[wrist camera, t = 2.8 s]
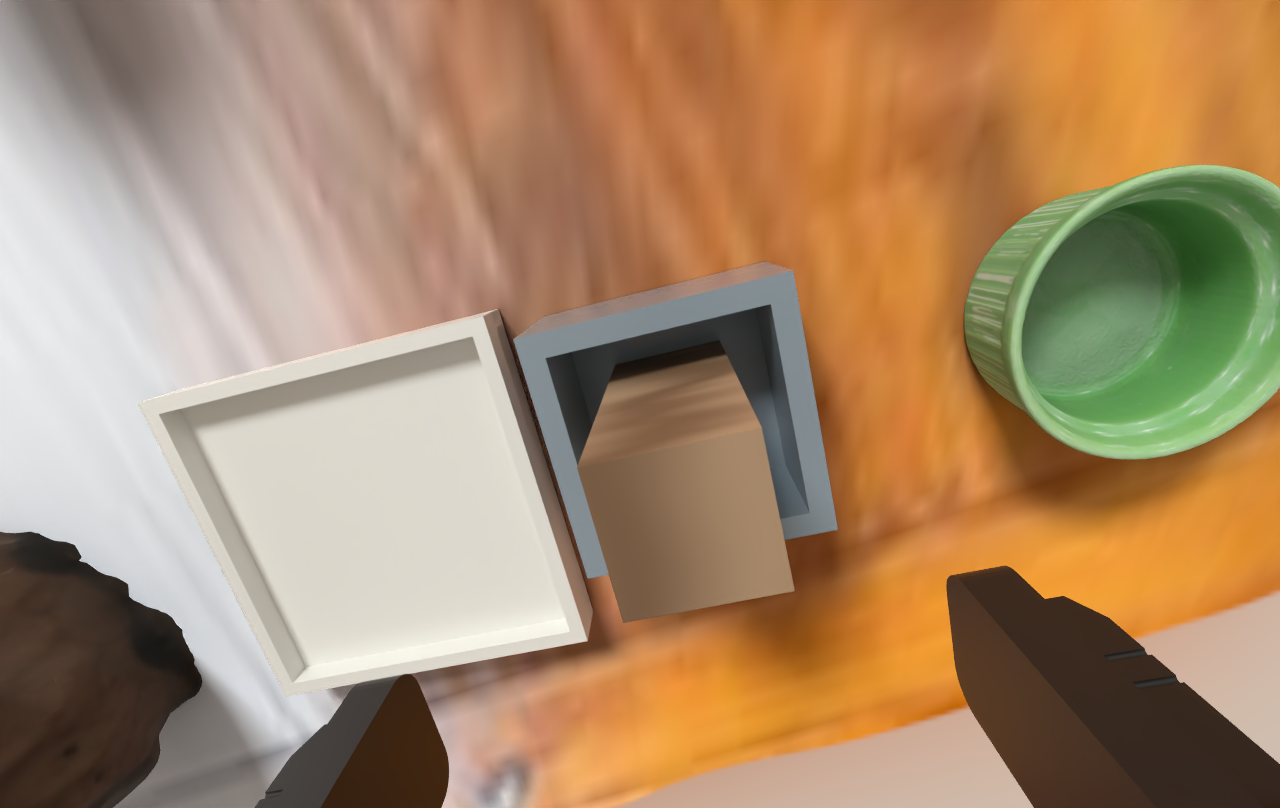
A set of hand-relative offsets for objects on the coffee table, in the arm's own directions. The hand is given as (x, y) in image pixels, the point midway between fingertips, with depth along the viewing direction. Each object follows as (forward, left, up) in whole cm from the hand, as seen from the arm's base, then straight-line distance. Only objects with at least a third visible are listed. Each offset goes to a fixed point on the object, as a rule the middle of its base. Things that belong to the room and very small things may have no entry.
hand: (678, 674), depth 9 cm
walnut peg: (0, 0, -14) cm, 14 cm away
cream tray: (+13, +2, -15) cm, 20 cm away
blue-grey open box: (0, 0, -15) cm, 15 cm away
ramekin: (-15, 0, -16) cm, 22 cm away
